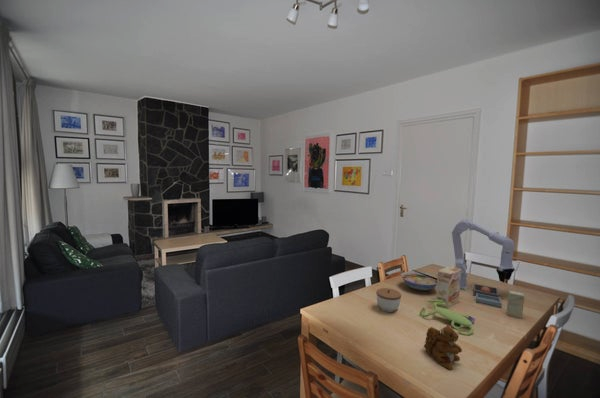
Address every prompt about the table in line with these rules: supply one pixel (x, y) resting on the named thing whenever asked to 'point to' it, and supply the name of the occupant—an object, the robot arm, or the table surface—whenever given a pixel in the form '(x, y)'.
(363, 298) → the table surface
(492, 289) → the grey square frame
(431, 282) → the ramen bowl
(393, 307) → the lidded bowl
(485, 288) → the ball
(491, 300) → the tray
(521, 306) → the skincare box
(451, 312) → the figurine
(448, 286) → the coffeecake box
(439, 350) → the stuffed squirrel
